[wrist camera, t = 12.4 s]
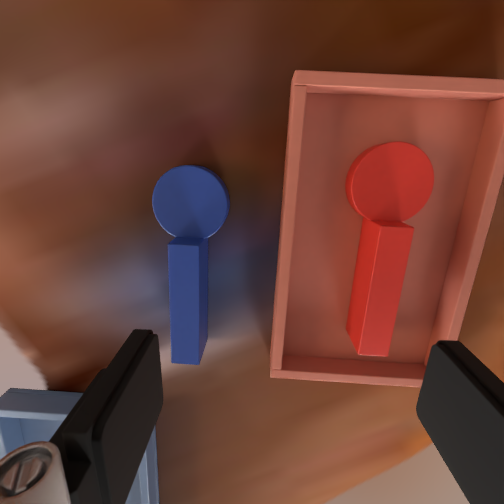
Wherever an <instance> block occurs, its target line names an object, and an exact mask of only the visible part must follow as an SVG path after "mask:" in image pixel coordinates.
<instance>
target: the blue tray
mask: <svg viewBox="0 0 504 504" xmlns="http://www.w3.org/2000/svg"><path fill="white" fill-rule="evenodd" d="M82 395H83V393H76V392H61V391H47V390H32V389H18V388H10V389H9V390H8V391H6V393H4V394H3V395H2V396H1V397H0V459H2V458H3V457H4V456H5V455H7V454H8V453H10V452H11V451H13V450H15V449H17V448H19V447H20V446H23V445H26V444H29V443H31V442H38V441H47V442H48V441H49V440H50V439H51V437H52V436H53V435H54V433H55V432H56V430H57V429H58V428H59V426H60V425H61V424H62V422H63V421H64V419H65V418H66V417H67V415H68V414H69V413H70V411H71V410H72V408H73V407H74V406H75V404H76V403H77V402H78V400H79V399H80V397H81V396H82ZM125 504H159V485H158V466H157V448H156V429H155V427H154V429H153V432H152V434H151V437H150V440H149V442H148V445H147V448H146V450H145V453H144V456H143V458H142V461H141V463H140V466H139V469H138V471H137V474H136V477H135V479H134V482H133V484H132V487H131V490H130V492H129V495H128V498H127V500H126V503H125Z"/></svg>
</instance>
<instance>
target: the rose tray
mask: <svg viewBox="0 0 504 504" xmlns="http://www.w3.org/2000/svg"><path fill="white" fill-rule="evenodd" d="M397 141H400V142H407V143H411V144H413V145H415V146H417V147H418V148H420V149H421V150H422V151H423V152H424V153H425V154H426V155H427V156H428V158H429V159H430V161H431V164H432V166H433V170H434V186H433V190H432V193H431V195H430V198H429V199H428V201H427V203H426V204H425V205H424V207H423V208H422V209H421V210H420V211H419V212H418V213H417V214H416V215H414V216H413V217H411V218H409V219H408V220H406V221H403V222H402V223H405V224H407V225H409V226H412V227H414V233H413V238H412V243H411V248H410V253H409V257H408V262H407V267H406V272H405V277H404V281H403V286H402V291H401V296H400V301H399V305H398V310H397V315H396V320H395V325H394V330H393V334H392V339H391V344H390V349H389V354H388V356H387V357H386V356H370V355H358V353H357V351H356V349H355V347H354V345H353V343H352V341H351V339H350V337H349V335H348V333H347V331H346V323H347V317H348V311H349V304H350V298H351V291H352V285H353V279H354V272H355V266H356V259H357V253H358V246H359V240H360V234H361V227H362V221H363V216H361V215H359V214H358V213H357V212H356V211H355V210H354V209H353V208H352V207H351V205H350V203H349V202H348V199H347V196H346V191H345V182H346V176H347V173H348V170H349V168H350V166H351V165H352V163H353V162H354V160H355V159H356V158H357V157H358V156H359V155H360V154H361V153H362V152H364V151H365V150H366V149H368V148H370V147H372V146H374V145H378V144H382V143H388V142H397ZM503 176H504V79H487V78H465V77H443V76H421V75H399V74H377V73H355V72H333V71H311V70H295V73H294V75H293V78H292V81H291V93H290V105H289V118H288V131H287V144H286V157H285V170H284V183H283V195H282V208H281V221H280V234H279V247H278V260H277V273H276V285H275V298H274V311H273V324H272V337H271V350H270V376H271V377H272V378H287V379H302V380H317V381H332V382H347V383H362V384H377V385H392V386H407V387H421V386H422V382H423V378H424V374H425V370H426V366H427V362H428V358H429V354H430V350H431V347H432V345H434V344H436V343H437V341H439V340H453V341H457V340H458V336H459V333H460V329H461V326H462V322H463V319H464V315H465V311H466V308H467V304H468V301H469V297H470V294H471V290H472V286H473V283H474V279H475V276H476V272H477V269H478V265H479V261H480V258H481V254H482V251H483V247H484V244H485V240H486V237H487V233H488V229H489V226H490V222H491V219H492V215H493V212H494V208H495V204H496V201H497V197H498V194H499V190H500V187H501V183H502V180H503Z"/></svg>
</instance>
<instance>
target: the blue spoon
mask: <svg viewBox="0 0 504 504" xmlns="http://www.w3.org/2000/svg"><path fill="white" fill-rule="evenodd" d="M152 204H153V210H154V214H155V216H156V218H157V220H158V222H159V223H160V225H161V226H162V227H163V228H164V230H166V231H167V232H168V233H169V234H171V235H172V236H174V237H176V238H174V239H173V240H172V241H171V242H170V243H169V244H168V269H169V300H170V332H171V362H172V363H179V364H194V365H199V364H200V361H201V358H202V354H203V351H204V348H205V345H206V342H207V327H208V238H209V237H210V236H212V235H213V234H215V233H216V232H217V231H218V230H219V229H220V227H221V226H222V225H223V223H224V222H225V220H226V218H227V215H228V212H229V207H230V199H229V194H228V190H227V188H226V186H225V184H224V182H223V181H222V180H221V178H220V177H219V176H218V175H217V174H216V173H214V172H213V171H211V170H210V169H208V168H205V167H202V166H198V165H183V166H178V167H175V168H173V169H170V170H169V171H167V172H166V173H165V174H164V175H162V177H161V178H160V179H159V180H158V182H157V184H156V186H155V188H154V192H153V197H152Z"/></svg>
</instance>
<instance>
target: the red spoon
mask: <svg viewBox="0 0 504 504" xmlns="http://www.w3.org/2000/svg"><path fill="white" fill-rule="evenodd" d="M433 186H434V170H433V166H432V164H431V161H430V159H429V158H428V156H427V155H426V154H425V153H424V152H423V151H422V150H421V149H420V148H418V147H417V146H415V145H413V144H411V143H407V142H400V141H397V142H388V143H382V144H378V145H374V146H372V147H370V148H368V149H366V150H365V151H364V152H362V153H361V154H360V155H359V156H358V157H357V158H356V159H355V160H354V162H353V163H352V165H351V166H350V168H349V170H348V173H347V176H346V182H345V191H346V196H347V199H348V202H349V203H350V205H351V207H352V208H353V209H354V210H355V211H356V212H357V213H358V214H359V215H361V216H363V221H362V227H361V234H360V240H359V246H358V253H357V259H356V266H355V272H354V279H353V285H352V291H351V298H350V304H349V311H348V317H347V323H346V331H347V333H348V335H349V337H350V339H351V341H352V343H353V345H354V347H355V349H356V351H357V353H358V355H370V356H386V357H387V356H388V354H389V349H390V344H391V339H392V334H393V330H394V325H395V320H396V315H397V310H398V305H399V301H400V296H401V291H402V286H403V281H404V277H405V272H406V267H407V262H408V257H409V253H410V248H411V243H412V238H413V233H414V227H412V226H409V225H407V224H405V223H402V222H403V221H406V220H408V219H409V218H411V217H413V216H414V215H416V214H417V213H418V212H419V211H420V210H421V209H422V208H423V207H424V205H425V204H426V203H427V201H428V199H429V198H430V195H431V193H432V190H433Z"/></svg>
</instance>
